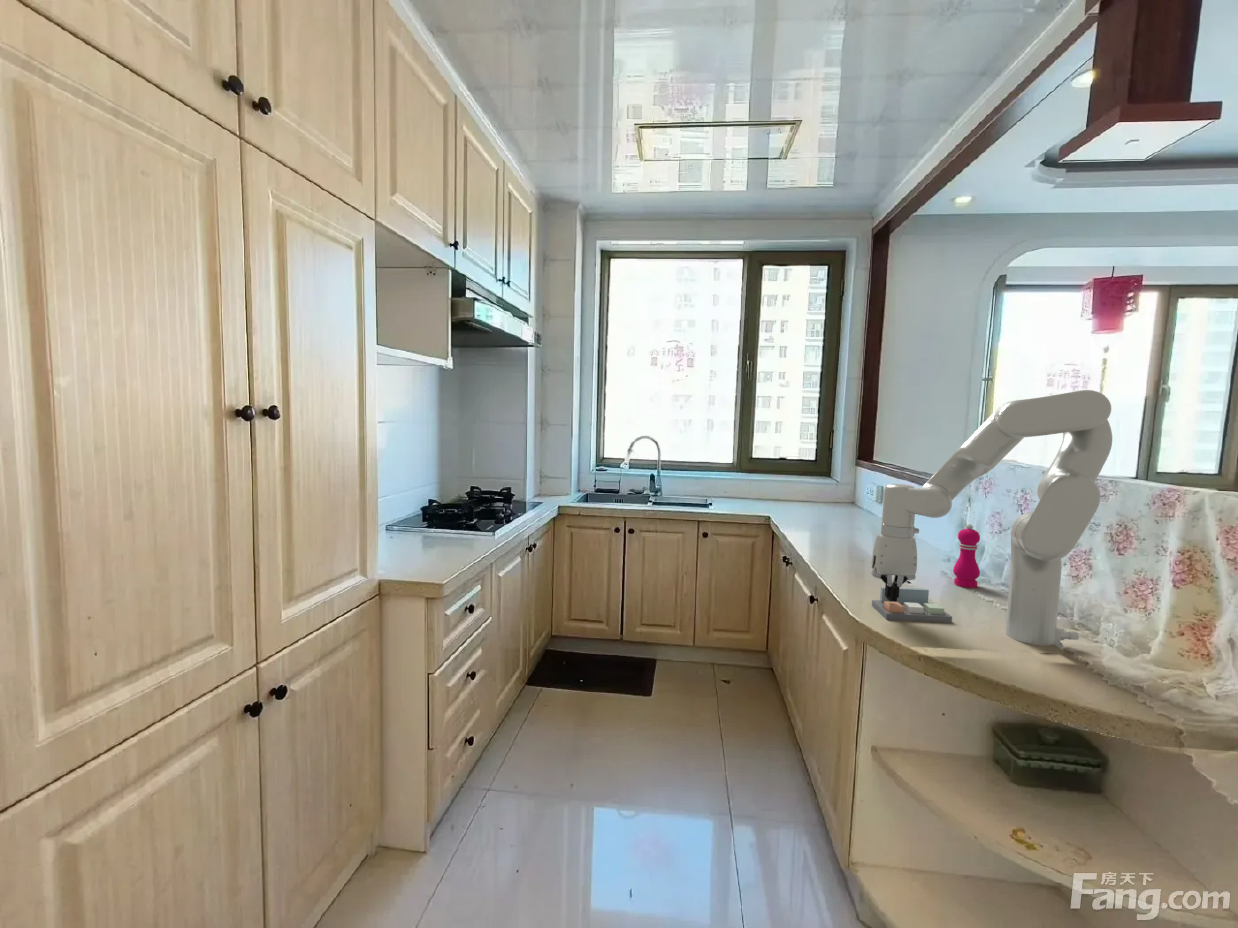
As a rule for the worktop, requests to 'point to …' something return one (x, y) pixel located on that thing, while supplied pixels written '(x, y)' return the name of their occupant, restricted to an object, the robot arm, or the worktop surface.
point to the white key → (913, 607)
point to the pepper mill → (967, 559)
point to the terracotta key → (893, 607)
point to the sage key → (933, 608)
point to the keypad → (912, 597)
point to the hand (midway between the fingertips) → (891, 599)
